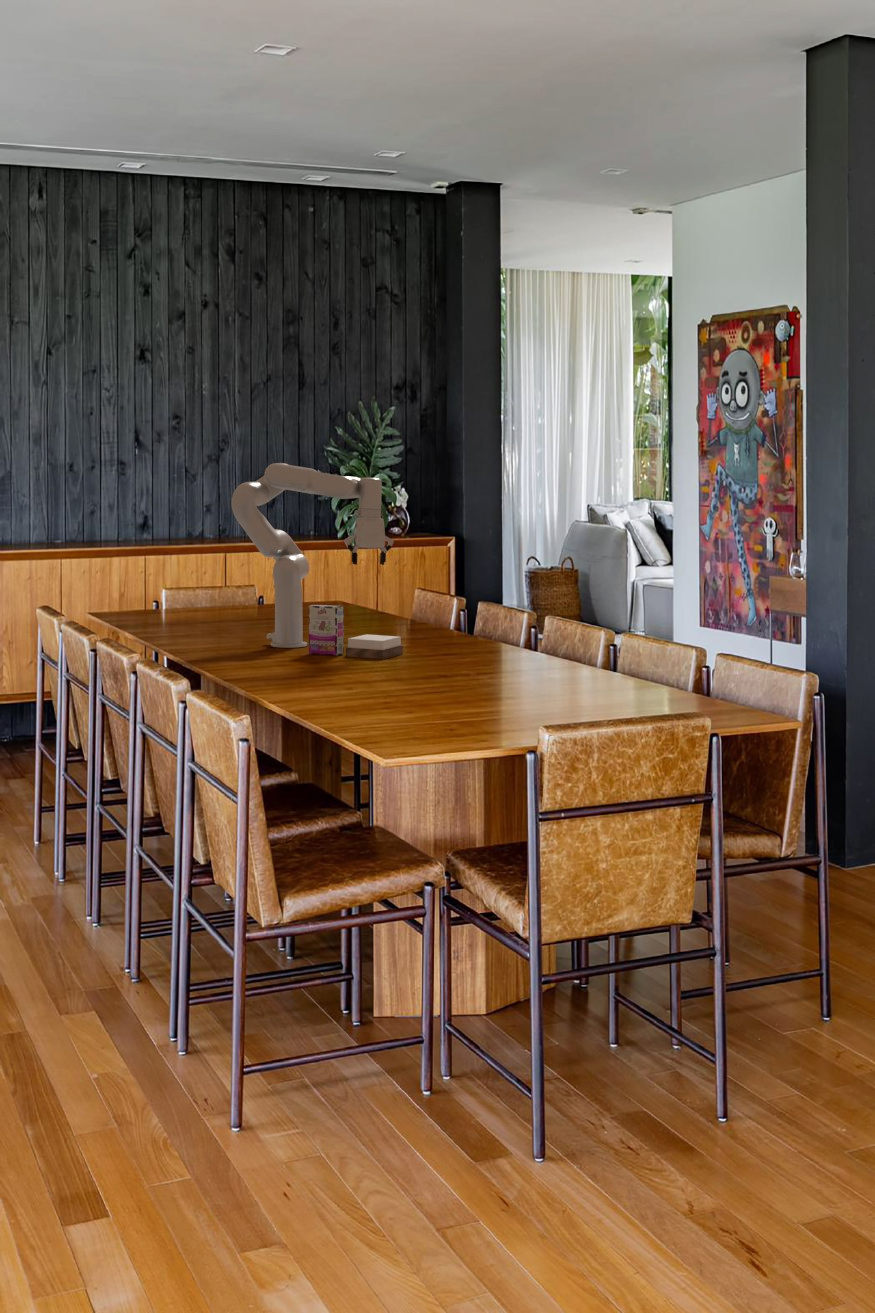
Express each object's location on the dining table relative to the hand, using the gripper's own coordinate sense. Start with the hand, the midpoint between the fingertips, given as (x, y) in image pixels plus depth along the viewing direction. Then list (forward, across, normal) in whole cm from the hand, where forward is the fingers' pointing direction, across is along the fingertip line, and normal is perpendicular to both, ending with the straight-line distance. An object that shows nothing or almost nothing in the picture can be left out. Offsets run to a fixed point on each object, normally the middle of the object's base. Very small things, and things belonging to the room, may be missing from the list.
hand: (368, 564), depth 484 cm
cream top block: (+26, -2, -16) cm, 31 cm away
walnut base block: (+30, -2, -16) cm, 34 cm away
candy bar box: (+30, -17, -10) cm, 35 cm away
